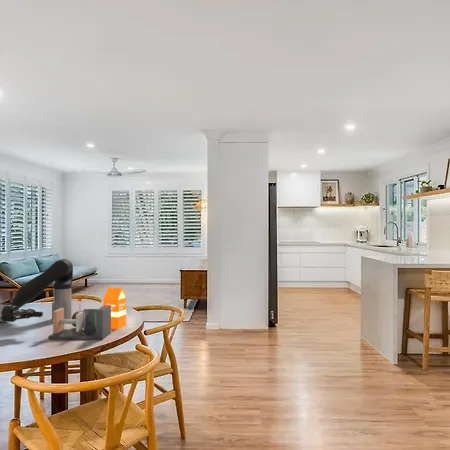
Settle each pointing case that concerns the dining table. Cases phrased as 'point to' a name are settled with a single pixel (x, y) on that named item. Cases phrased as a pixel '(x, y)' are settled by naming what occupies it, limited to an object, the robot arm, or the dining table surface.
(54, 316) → the plunger
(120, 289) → the orange juice
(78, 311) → the tin
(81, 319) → the pointer
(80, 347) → the dining table surface
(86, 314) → the grey l-shaped bracket
